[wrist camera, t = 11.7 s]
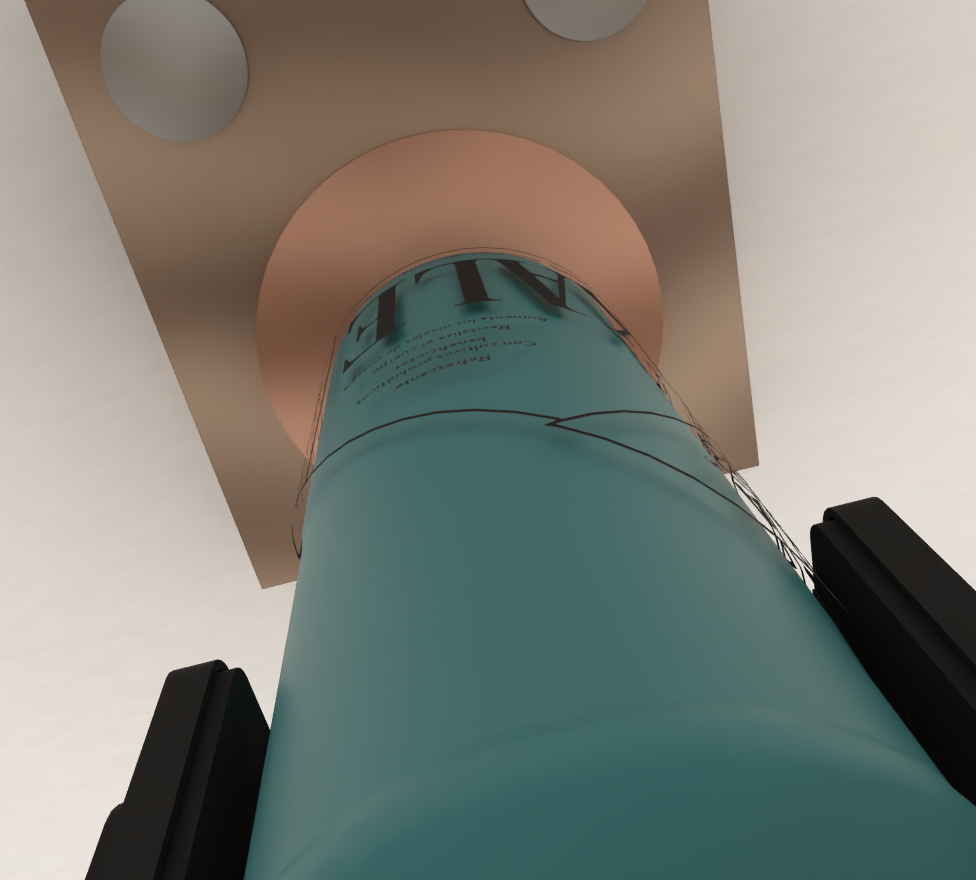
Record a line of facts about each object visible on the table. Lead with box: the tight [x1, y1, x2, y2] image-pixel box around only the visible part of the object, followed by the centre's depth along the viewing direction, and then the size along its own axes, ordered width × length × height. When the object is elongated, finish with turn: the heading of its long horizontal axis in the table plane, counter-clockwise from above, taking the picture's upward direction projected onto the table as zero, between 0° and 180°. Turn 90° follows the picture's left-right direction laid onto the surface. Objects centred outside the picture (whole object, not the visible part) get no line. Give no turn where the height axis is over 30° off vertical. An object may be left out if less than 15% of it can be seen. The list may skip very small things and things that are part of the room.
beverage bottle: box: [244, 247, 976, 880], centre depth 11 cm, size 6×7×20 cm
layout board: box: [25, 0, 759, 589], centre depth 22 cm, size 15×14×2 cm
